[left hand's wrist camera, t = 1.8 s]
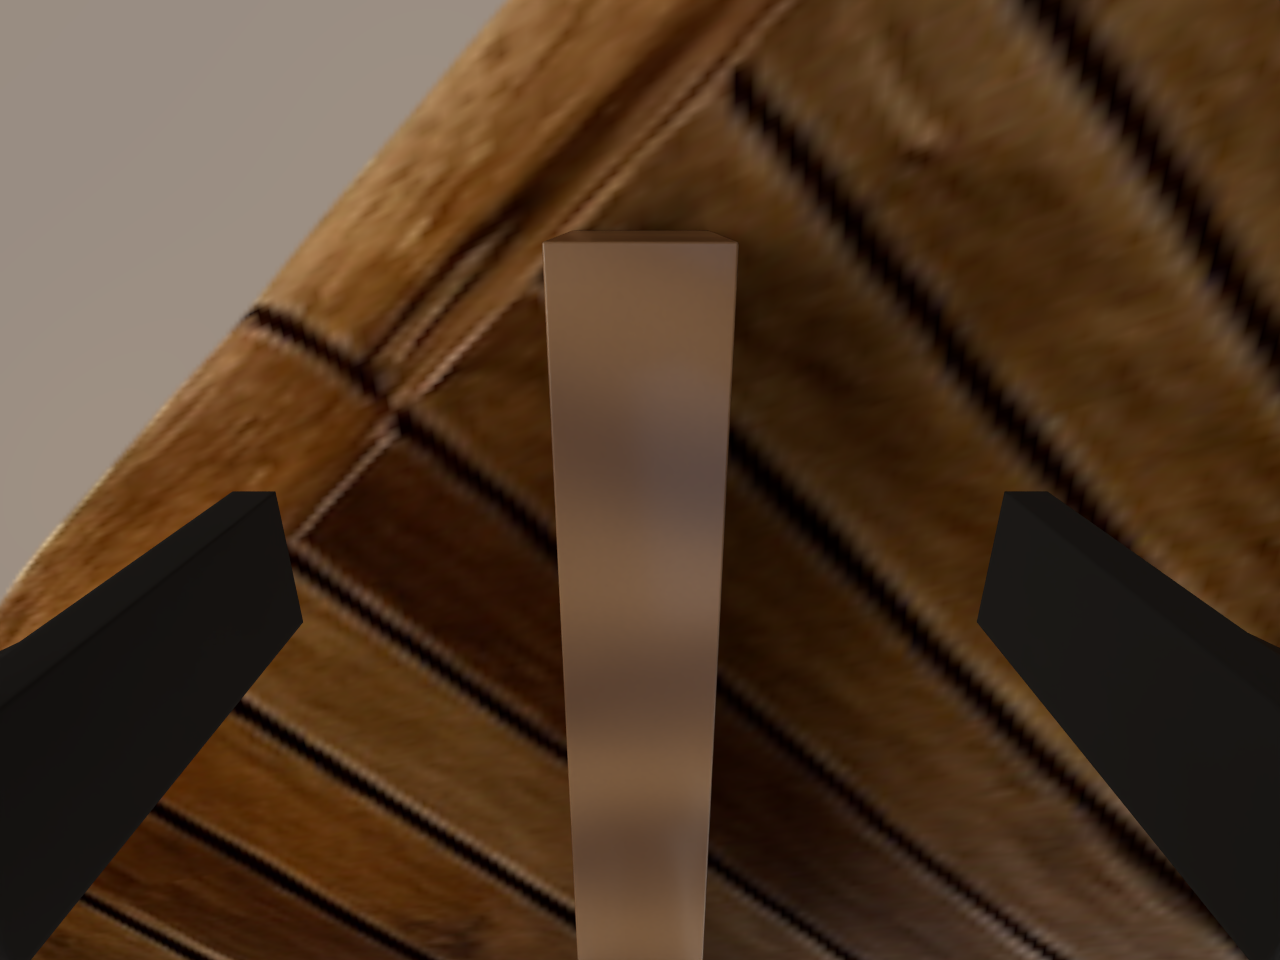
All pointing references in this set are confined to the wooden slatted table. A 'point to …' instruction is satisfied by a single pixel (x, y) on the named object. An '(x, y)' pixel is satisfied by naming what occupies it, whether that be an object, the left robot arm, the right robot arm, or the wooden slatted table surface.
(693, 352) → the beam
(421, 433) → the wooden slatted table surface
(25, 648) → the left robot arm
